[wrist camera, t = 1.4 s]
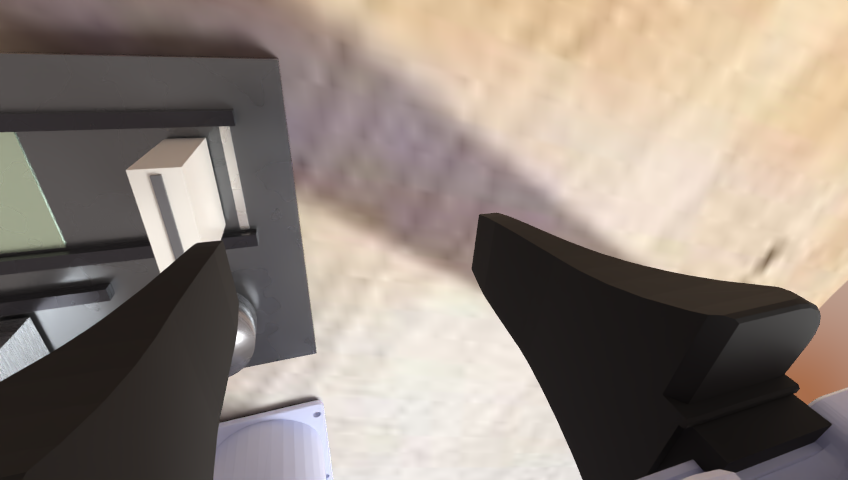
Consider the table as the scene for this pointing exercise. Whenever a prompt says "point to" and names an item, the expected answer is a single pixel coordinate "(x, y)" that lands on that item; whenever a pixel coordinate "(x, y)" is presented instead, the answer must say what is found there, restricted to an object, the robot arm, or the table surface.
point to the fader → (177, 197)
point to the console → (115, 202)
